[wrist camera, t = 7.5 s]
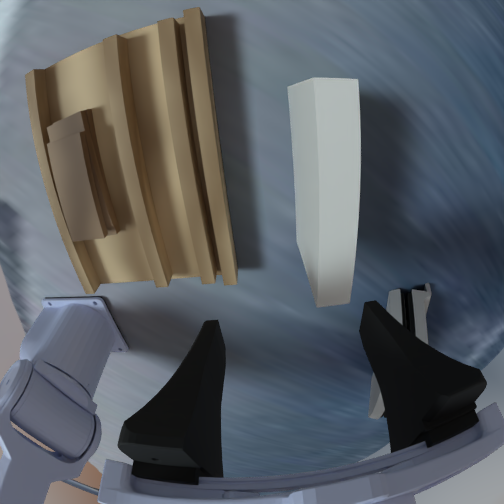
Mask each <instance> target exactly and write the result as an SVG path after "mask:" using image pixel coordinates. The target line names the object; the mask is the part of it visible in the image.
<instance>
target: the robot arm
mask: <svg viewBox="0 0 504 504" xmlns="http://www.w3.org/2000/svg"><path fill="white" fill-rule="evenodd" d="M41 302H42V305H43V306H44V309H43V310H42V312H41V313H40V315H39V316H38V318H37V319H36V321H35V322H34V323H33V325H32V327H31V328H30V330H29V331H28V333H27V334H26V336H25V337H24V339H23V341H22V344H21V347H20V360H18V361H16V362H15V363H14V364H13V365H12V366H11V367H10V369H9V370H8V372H7V373H6V374H5V376H4V377H3V379H2V381H1V383H0V446H1V448H2V450H3V455H2V457H1V460H0V504H43V503H44V500H45V498H46V495H47V492H48V489H49V486H50V484H51V483H52V482H55V481H62V480H68V479H73V478H77V477H79V476H80V474H81V471H82V469H83V467H84V466H85V464H86V462H87V461H88V460H89V458H90V457H91V456H92V455H93V454H94V453H95V452H96V450H97V448H98V446H99V443H100V440H101V434H102V431H101V422H100V419H99V417H98V416H97V415H96V414H95V411H96V408H97V404H95V403H94V402H93V401H92V399H93V396H94V394H95V391H96V388H97V385H98V383H99V380H100V377H101V375H102V372H103V370H104V367H105V364H106V362H107V359H108V357H109V354H110V352H111V351H112V352H128V349H129V348H128V346H127V344H126V342H125V341H124V339H123V337H122V335H121V333H120V332H119V330H118V328H117V326H116V324H115V322H114V320H113V318H112V316H111V314H110V312H109V310H108V308H107V306H106V304H105V302H104V300H103V299H102V298H100V297H93V298H53V299H43V300H42V301H41ZM359 332H360V336H361V340H362V343H363V347H364V350H365V352H366V355H367V357H368V360H369V362H370V364H371V367H372V369H373V372H374V374H375V377H376V379H377V382H378V385H379V388H380V391H381V395H382V399H383V403H384V408H385V413H386V418H387V424H388V430H389V438H390V447H391V453H390V454H387V455H383V456H380V457H377V458H373V459H369V460H365V461H362V462H357V463H353V464H349V465H344V466H340V467H335V468H330V469H324V470H318V471H312V472H305V473H298V474H289V475H280V476H267V477H247V478H224V477H223V464H222V447H221V401H222V393H223V384H224V375H225V366H226V355H225V344H224V340H223V337H222V333H221V329H220V326H219V322H218V320H209V321H205V322H204V324H203V326H202V328H201V330H200V332H199V334H198V336H197V338H196V340H195V342H194V344H193V345H192V347H191V349H190V351H189V352H188V354H187V356H186V357H185V359H184V360H183V362H182V363H181V365H180V366H179V368H178V369H177V371H176V372H175V373H174V375H173V376H172V377H171V379H170V380H169V381H168V382H167V383H166V385H165V386H164V387H163V388H162V389H161V390H160V391H159V392H158V393H157V394H156V395H155V396H154V397H153V398H152V399H151V400H150V401H149V402H148V403H147V404H146V405H145V406H144V407H143V408H141V409H140V410H139V411H138V412H136V413H135V414H134V415H132V416H131V417H130V418H128V419H127V420H125V421H124V424H123V426H122V429H121V432H120V437H119V441H118V448H119V449H120V450H121V451H122V452H123V453H124V454H126V455H127V456H129V457H130V458H131V459H133V460H134V462H133V466H132V465H130V464H127V463H123V462H118V461H113V460H109V459H106V460H105V465H104V469H103V474H102V479H101V484H100V489H99V494H98V500H97V501H98V502H99V503H102V504H416V502H415V498H414V495H415V494H418V493H420V492H422V491H424V490H427V489H429V488H431V487H433V486H435V485H437V484H440V483H442V482H444V481H445V480H447V479H449V478H451V477H453V476H455V475H457V474H459V473H461V472H462V471H464V470H466V469H468V468H469V467H471V466H473V465H474V464H476V463H478V462H479V461H481V460H483V459H484V458H486V457H487V456H489V455H490V454H492V453H493V452H494V451H495V450H497V449H498V448H499V447H501V446H502V445H503V444H504V419H503V416H502V414H501V412H500V410H499V408H498V406H497V404H496V403H493V404H491V405H489V406H488V407H486V408H484V409H482V410H481V411H479V412H478V413H477V414H476V412H475V410H474V409H476V407H477V406H476V404H475V401H476V399H477V398H478V397H479V396H480V395H481V393H482V392H483V391H484V389H485V388H486V385H487V382H486V380H485V378H484V376H483V375H482V373H481V371H480V369H477V368H474V367H471V366H468V365H466V364H463V363H461V362H458V361H456V360H454V359H452V358H450V357H448V356H446V355H444V354H442V353H440V352H439V351H437V350H435V349H434V348H432V347H431V346H429V345H428V344H426V343H425V342H423V341H422V340H420V339H419V338H418V337H416V336H415V335H414V334H413V333H411V332H410V331H409V330H408V329H406V328H405V327H404V326H403V325H402V324H401V323H400V322H398V321H397V320H396V319H395V318H394V317H393V316H392V315H391V314H390V313H389V312H388V311H386V310H385V309H384V308H383V307H382V306H381V305H380V304H379V303H378V302H377V301H370V302H365V303H364V309H363V314H362V319H361V325H360V330H359ZM10 421H12V422H13V423H14V424H16V425H17V426H18V427H20V428H21V429H23V430H24V431H25V432H27V433H28V434H29V435H31V436H32V437H34V438H35V439H37V440H38V441H40V442H42V443H43V444H45V445H46V446H48V447H49V448H51V449H52V450H54V451H56V452H51V451H48V450H46V449H44V448H42V447H41V446H39V445H38V444H36V443H35V442H33V441H32V440H30V439H29V438H27V437H26V436H24V435H23V434H22V433H20V432H19V431H17V430H16V429H15V428H13V427H12V425H11V422H10ZM377 472H381V473H377ZM302 488H303V489H302ZM294 489H300V490H296V491H293V492H287V493H281V494H273V495H264V496H260V494H259V493H256V492H273V491H285V490H294Z"/></svg>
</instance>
